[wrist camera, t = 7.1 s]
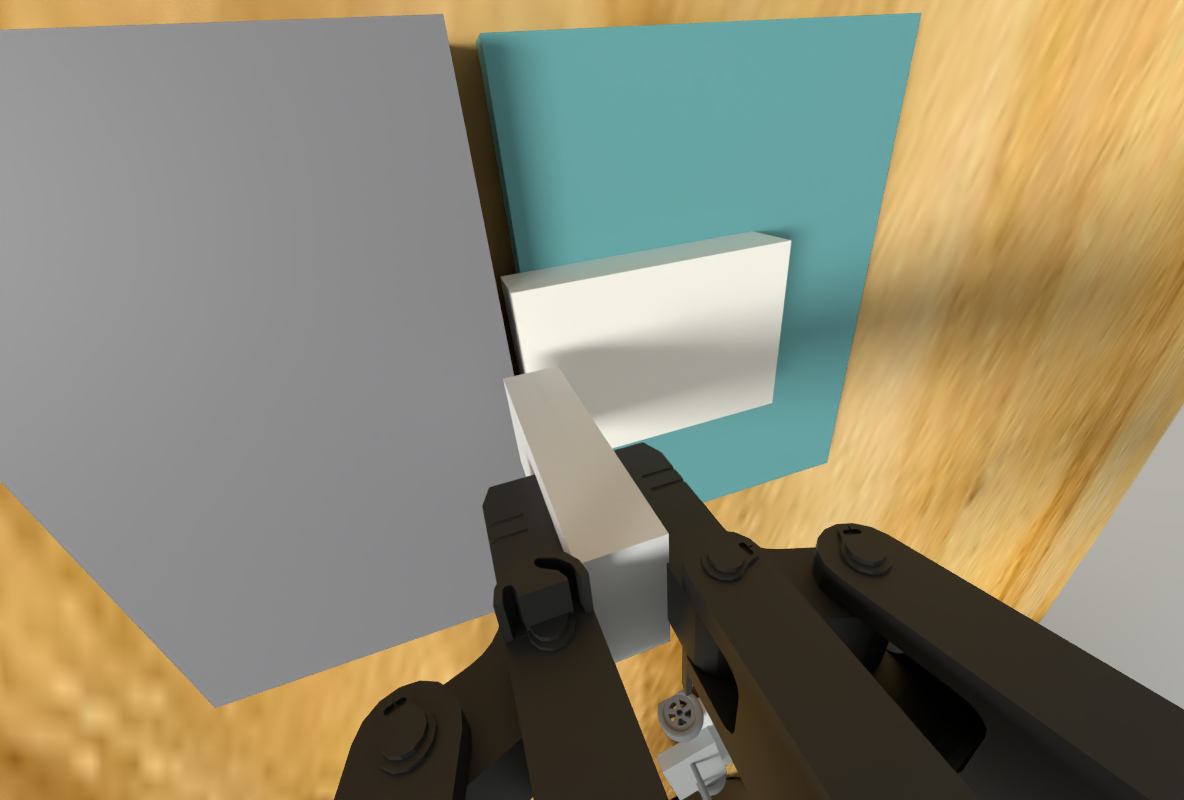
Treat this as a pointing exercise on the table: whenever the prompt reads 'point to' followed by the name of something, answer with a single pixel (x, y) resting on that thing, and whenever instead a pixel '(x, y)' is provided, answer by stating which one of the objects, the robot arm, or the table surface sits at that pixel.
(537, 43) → the mat
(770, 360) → the tile
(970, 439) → the table surface
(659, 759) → the toy car
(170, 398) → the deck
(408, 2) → the table surface
